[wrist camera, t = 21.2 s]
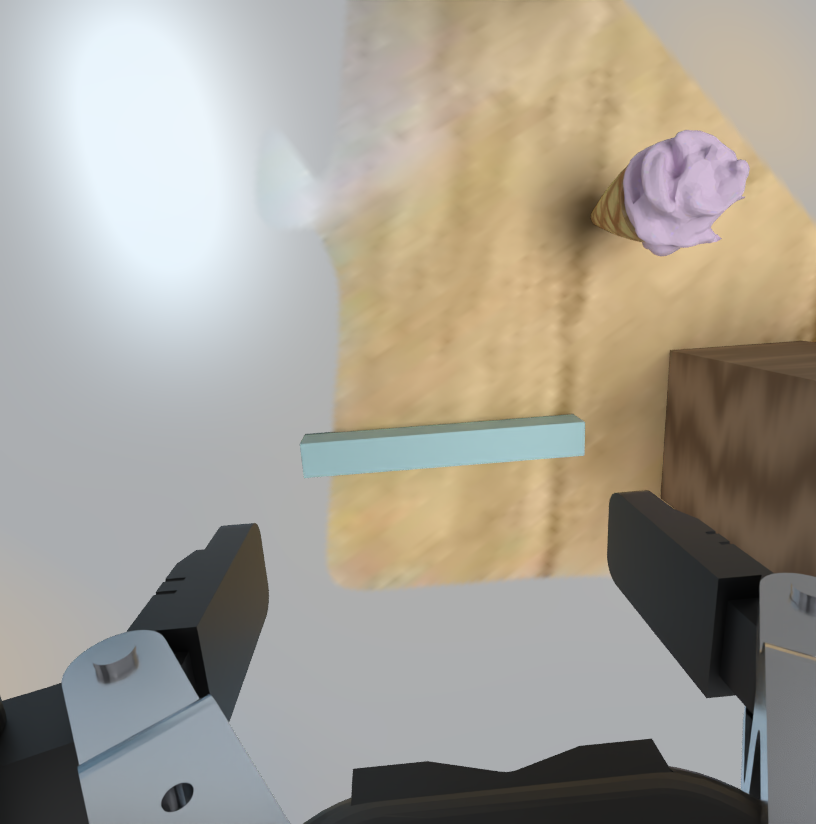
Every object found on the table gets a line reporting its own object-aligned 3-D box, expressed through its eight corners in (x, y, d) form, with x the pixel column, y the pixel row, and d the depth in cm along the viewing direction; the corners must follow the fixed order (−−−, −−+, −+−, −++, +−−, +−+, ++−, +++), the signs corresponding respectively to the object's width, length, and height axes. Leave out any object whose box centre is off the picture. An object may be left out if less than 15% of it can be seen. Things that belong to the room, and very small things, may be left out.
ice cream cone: (646, 244, 41) (790, 219, 27) (576, 275, 42) (682, 268, 27) (621, 164, 40) (761, 91, 25) (549, 197, 40) (646, 144, 25)
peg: (308, 465, 45) (303, 478, 42) (305, 433, 44) (299, 444, 41) (571, 444, 46) (584, 455, 43) (571, 413, 45) (585, 421, 42)
